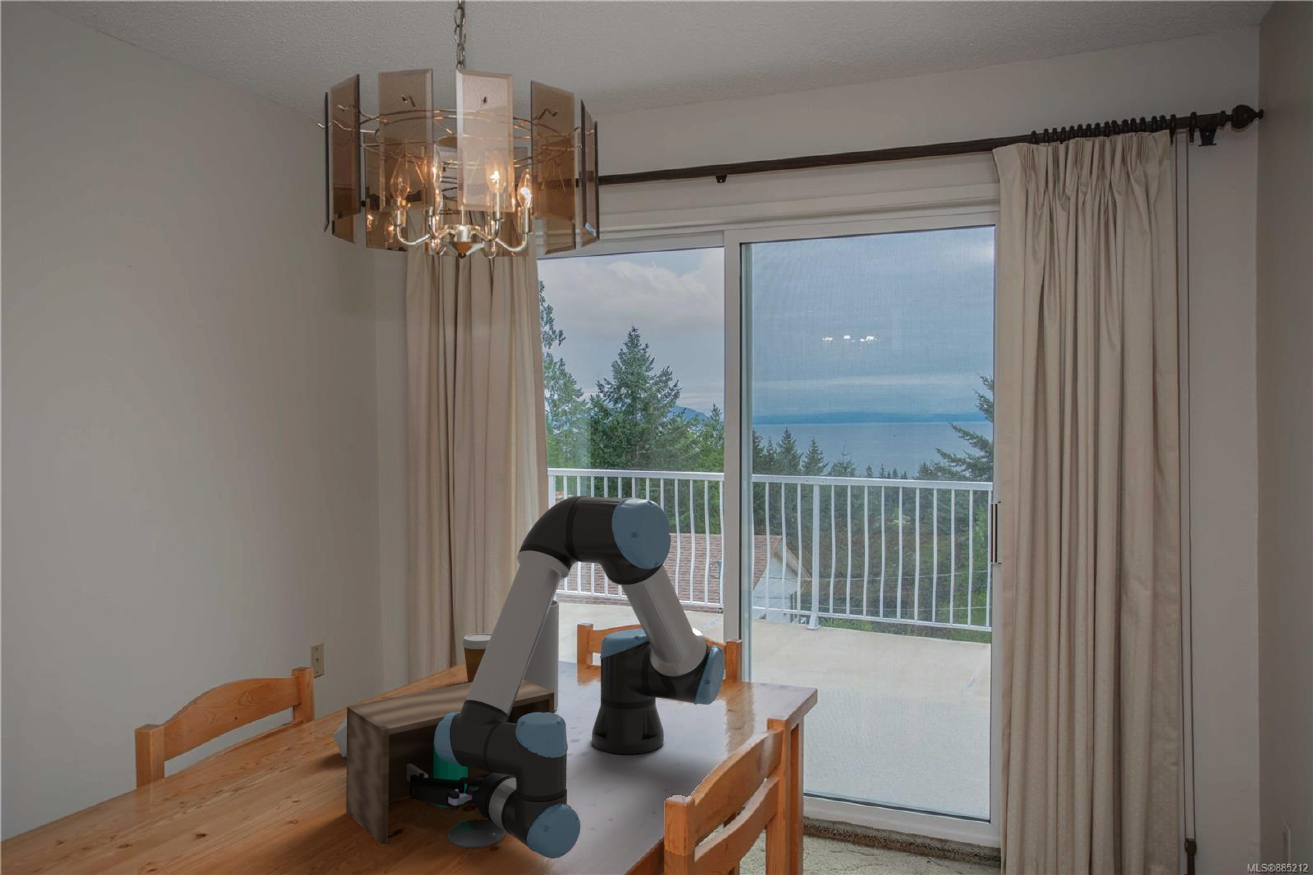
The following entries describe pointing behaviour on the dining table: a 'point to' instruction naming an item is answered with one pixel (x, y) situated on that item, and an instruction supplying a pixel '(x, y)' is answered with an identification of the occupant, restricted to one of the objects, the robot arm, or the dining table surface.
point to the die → (342, 738)
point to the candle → (447, 770)
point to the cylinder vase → (546, 655)
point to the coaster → (475, 834)
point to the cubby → (407, 745)
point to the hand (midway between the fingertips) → (445, 762)
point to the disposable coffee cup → (474, 652)
